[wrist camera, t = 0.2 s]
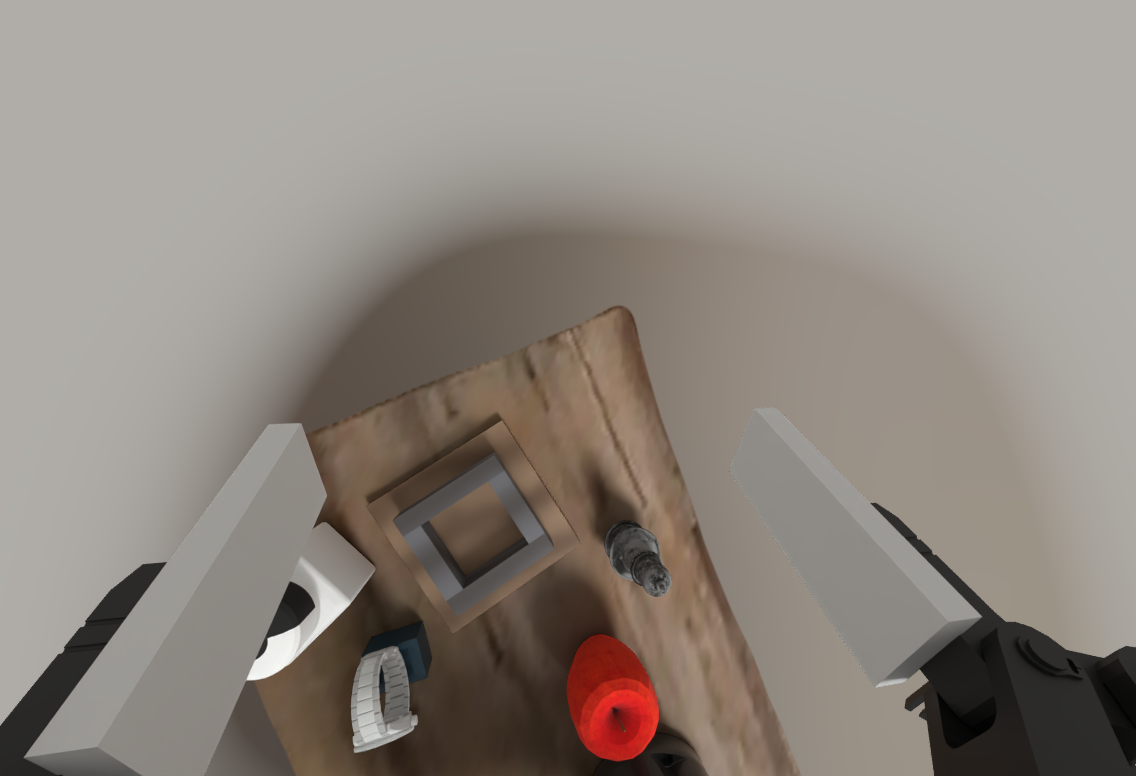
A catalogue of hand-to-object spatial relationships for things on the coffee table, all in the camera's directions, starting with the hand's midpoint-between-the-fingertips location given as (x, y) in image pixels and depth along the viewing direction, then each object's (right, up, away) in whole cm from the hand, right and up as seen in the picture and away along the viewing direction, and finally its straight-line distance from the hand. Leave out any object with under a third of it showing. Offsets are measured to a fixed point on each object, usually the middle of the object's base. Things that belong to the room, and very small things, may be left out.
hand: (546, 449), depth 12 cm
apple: (+4, -30, +36) cm, 47 cm away
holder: (-10, -14, +34) cm, 38 cm away
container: (-26, -18, +31) cm, 44 cm away
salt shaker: (+8, -17, +36) cm, 41 cm away
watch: (-18, -27, +32) cm, 46 cm away
